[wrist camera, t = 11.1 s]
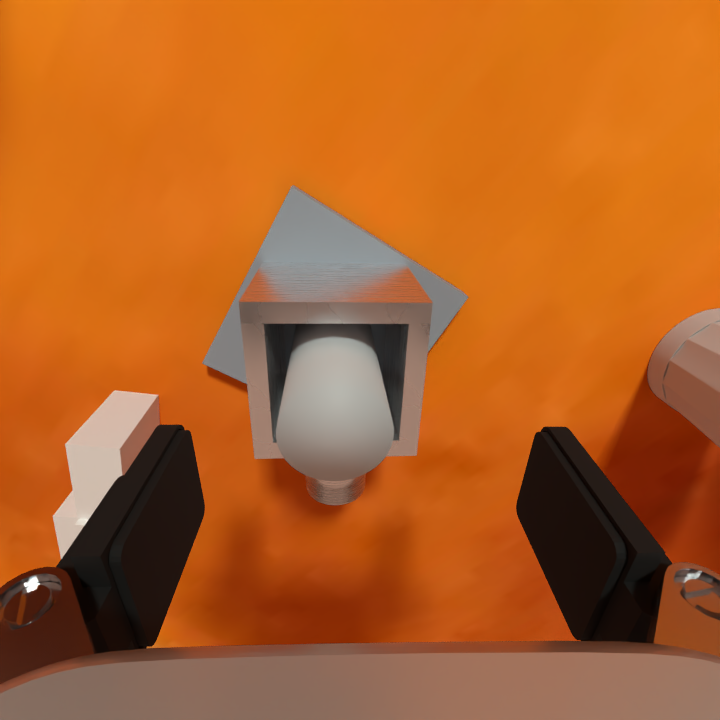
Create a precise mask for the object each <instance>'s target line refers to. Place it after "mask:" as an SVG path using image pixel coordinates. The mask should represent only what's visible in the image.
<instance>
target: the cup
mask: <svg viewBox="0 0 720 720" xmlns="http://www.w3.org/2000/svg"><path fill="white" fill-rule="evenodd" d="M647 377H648V383H649V386H650V388H651V390H652V392H653V393H654V394H655V395H656V396H657V397H658V398H660V399H661V400H662V401H664V402H665V403H666V404H668V405H669V406H670V407H672V408H673V409H675V410H676V411H678V412H680V413H681V414H682V415H683V416H684V417H685V418H686V419H688V420H689V421H690V422H691V423H692V424H693V425H694V426H696V427H697V428H698V429H699V430H700V431H701V432H702V433H704V434H705V435H706V436H707V437H708V438H709V439H710V440H712V441H713V442H714V443H715V444H716V445H717V446H718V447H720V308H718V309H711V310H706V311H703V312H700V313H697V314H695V315H693V316H691V317H689V318H687V319H685V320H683V321H682V322H680V323H679V324H678V325H676V326H675V327H674V328H673V329H671V330H670V331H669V332H668V333H667V334H666V335H665V336H664V337H663V339H662V340H661V341H660V342H659V344H658V345H657V347H656V348H655V350H654V352H653V354H652V356H651V359H650V362H649V365H648V372H647Z"/></svg>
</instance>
